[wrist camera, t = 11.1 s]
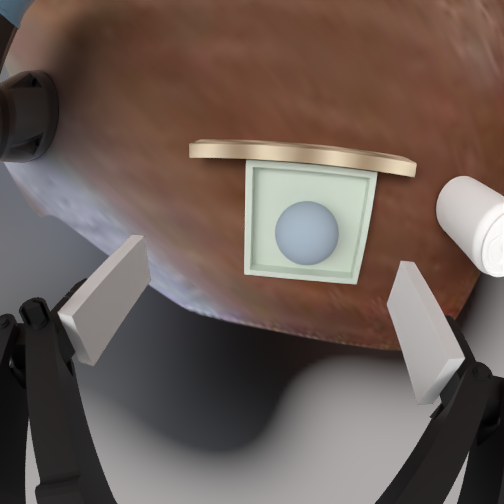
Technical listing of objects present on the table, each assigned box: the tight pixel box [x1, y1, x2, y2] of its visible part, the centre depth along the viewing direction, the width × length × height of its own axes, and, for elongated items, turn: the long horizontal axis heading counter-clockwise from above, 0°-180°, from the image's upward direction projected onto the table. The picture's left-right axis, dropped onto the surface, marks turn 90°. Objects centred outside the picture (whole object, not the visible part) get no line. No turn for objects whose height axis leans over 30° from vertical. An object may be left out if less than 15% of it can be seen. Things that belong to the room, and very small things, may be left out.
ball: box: [275, 201, 339, 265], centre depth 33 cm, size 7×7×7 cm
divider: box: [189, 139, 417, 177], centre depth 30 cm, size 24×2×4 cm, turn 89°
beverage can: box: [436, 176, 504, 277], centre depth 26 cm, size 8×8×12 cm
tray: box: [244, 159, 378, 284], centre depth 35 cm, size 14×14×2 cm
